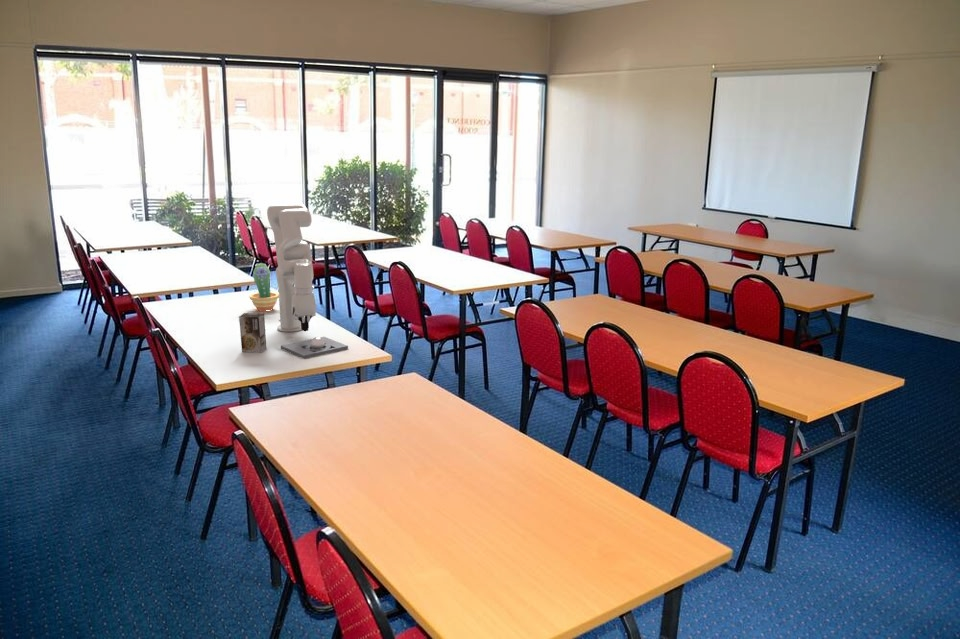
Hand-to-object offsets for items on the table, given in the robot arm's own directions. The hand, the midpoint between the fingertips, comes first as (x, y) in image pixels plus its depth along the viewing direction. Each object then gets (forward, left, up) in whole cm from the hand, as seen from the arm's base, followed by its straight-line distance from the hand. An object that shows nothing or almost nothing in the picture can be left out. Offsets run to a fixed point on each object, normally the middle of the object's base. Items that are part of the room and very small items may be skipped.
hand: (305, 330), depth 328 cm
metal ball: (+11, -1, -4) cm, 12 cm away
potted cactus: (-73, +18, -7) cm, 75 cm away
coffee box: (-7, -21, -7) cm, 23 cm away
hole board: (+8, 0, -7) cm, 11 cm away
